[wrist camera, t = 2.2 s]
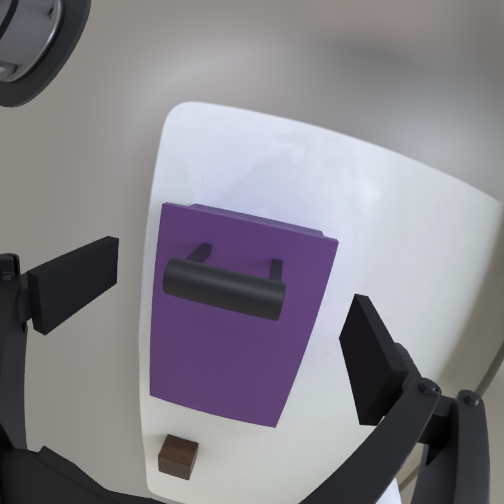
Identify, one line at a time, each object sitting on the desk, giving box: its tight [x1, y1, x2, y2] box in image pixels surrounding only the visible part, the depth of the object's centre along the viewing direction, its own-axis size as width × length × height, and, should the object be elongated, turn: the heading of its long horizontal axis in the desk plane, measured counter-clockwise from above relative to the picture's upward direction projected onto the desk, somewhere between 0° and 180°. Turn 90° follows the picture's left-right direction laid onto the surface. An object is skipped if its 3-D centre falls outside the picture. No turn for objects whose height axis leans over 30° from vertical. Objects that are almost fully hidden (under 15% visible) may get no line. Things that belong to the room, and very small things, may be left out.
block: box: [158, 434, 198, 480], centre depth 37 cm, size 5×5×5 cm
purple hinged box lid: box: [150, 202, 339, 428], centre depth 20 cm, size 19×13×8 cm
